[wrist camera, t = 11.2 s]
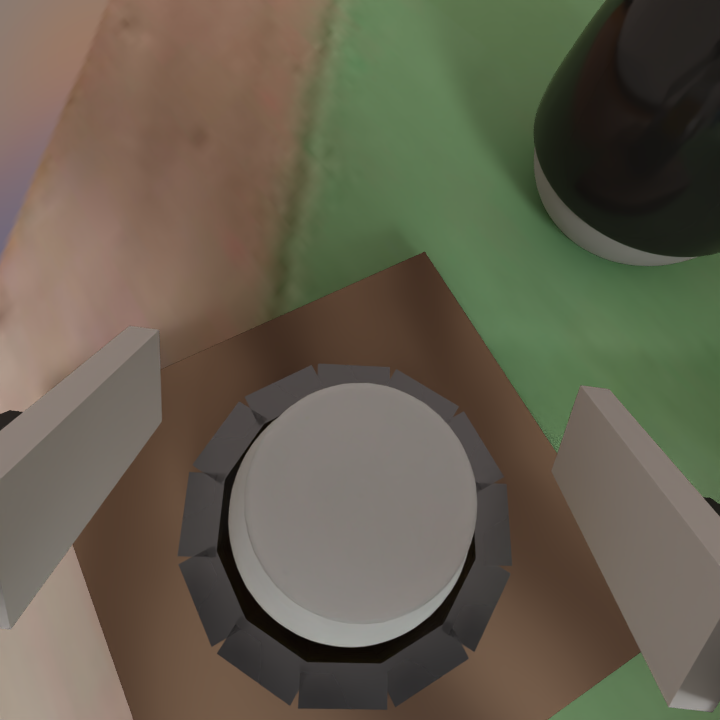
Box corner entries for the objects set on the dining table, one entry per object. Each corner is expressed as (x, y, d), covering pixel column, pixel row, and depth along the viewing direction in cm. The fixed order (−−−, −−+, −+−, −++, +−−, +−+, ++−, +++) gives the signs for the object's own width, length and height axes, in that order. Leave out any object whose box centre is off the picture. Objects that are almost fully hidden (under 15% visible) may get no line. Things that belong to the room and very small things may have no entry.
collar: (393, 358, 20) (407, 319, 17) (526, 583, 18) (573, 589, 14) (166, 469, 18) (132, 450, 15) (280, 741, 16) (269, 790, 12)
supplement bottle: (325, 653, 16) (330, 769, 7) (228, 514, 18) (131, 469, 9) (451, 539, 18) (582, 521, 9) (353, 417, 19) (381, 295, 10)
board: (418, 270, 23) (424, 251, 22) (646, 624, 19) (672, 629, 17) (52, 436, 20) (31, 427, 18) (226, 921, 15) (216, 958, 14)
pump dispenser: (462, 156, 26) (637, -340, 11) (634, 100, 28) (963, -379, 14) (573, 335, 23) (997, -38, 8) (757, 256, 25) (1343, -148, 11)
